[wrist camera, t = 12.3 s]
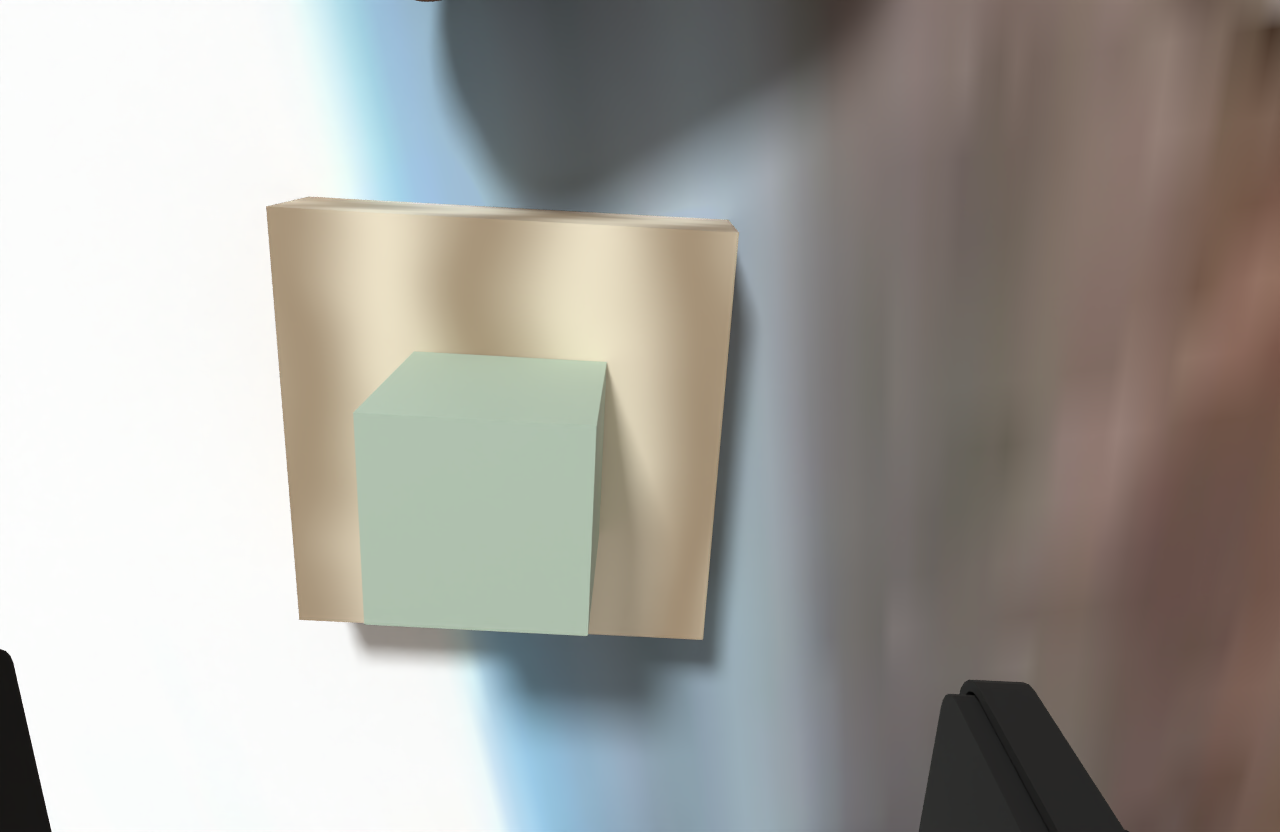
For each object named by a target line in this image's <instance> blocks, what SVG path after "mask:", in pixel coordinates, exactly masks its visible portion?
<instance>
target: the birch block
mask: <svg viewBox="0 0 1280 832" xmlns="http://www.w3.org/2000/svg"><path fill="white" fill-rule="evenodd" d="M266 209H267V222H268V234H269V247H270V259H271V272H272V284H273V296H274V309H275V321H276V334H277V346H278V359H279V371H280V384H281V396H282V408H283V421H284V433H285V446H286V458H287V471H288V483H289V496H290V508H291V520H292V533H293V545H294V558H295V570H296V583H297V595H298V608H299V620H315V621H335V622H355V623H364V610H363V591H362V572H361V553H360V534H359V515H358V496H357V477H356V458H355V439H354V420H353V412H354V411H355V410H356V409H357V408H358V407H359V406H360V405H361V404H362V403H363V402H364V401H365V400H366V399H367V398H368V397H369V396H370V395H371V394H372V393H373V392H374V391H375V390H376V389H377V388H378V387H379V386H380V385H381V384H382V383H383V382H384V381H385V380H386V379H387V378H388V377H389V376H390V375H391V374H392V373H393V372H394V371H395V370H396V369H397V368H398V367H399V366H400V365H401V364H402V363H403V362H404V361H405V360H406V359H407V358H408V357H409V356H410V355H411V354H412V353H413V352H414V351H416V352H434V353H453V354H471V355H489V356H507V357H525V358H544V359H562V360H580V361H598V362H607V367H606V390H605V412H604V435H603V457H602V480H601V502H600V524H599V540H598V549H597V558H596V567H595V576H594V585H593V594H592V603H591V612H590V621H589V630H588V634H596V635H617V636H637V637H657V638H677V639H697V640H703V632H704V620H705V609H706V598H707V587H708V575H709V564H710V553H711V541H712V530H713V519H714V507H715V496H716V485H717V474H718V462H719V451H720V440H721V428H722V417H723V406H724V394H725V383H726V372H727V361H728V349H729V338H730V327H731V315H732V304H733V293H734V281H735V270H736V259H737V248H738V236H739V232H738V231H737V230H736V229H735V227H734V226H733V225H732V224H731V223H730V221H729V220H720V219H702V218H684V217H666V216H648V215H630V214H612V213H594V212H576V211H557V210H539V209H521V208H503V207H485V206H467V205H449V204H431V203H413V202H395V201H377V200H359V199H341V198H323V197H305V198H301V199H297V200H292V201H288V202H284V203H280V204H275V205H271V206H267V207H266Z"/></svg>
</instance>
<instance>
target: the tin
mask: <svg viewBox="0 0 1280 832" xmlns="http://www.w3.org/2000/svg"><path fill="white" fill-rule="evenodd" d="M416 1H424V2H433V1H441V0H416Z"/></svg>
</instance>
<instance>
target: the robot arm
mask: <svg viewBox="0 0 1280 832" xmlns="http://www.w3.org/2000/svg"><path fill="white" fill-rule="evenodd" d="M0 832H51V828H50V823H49V819H48V814H47V810H46V806H45V801H44V797H43V792H42V788H41V783H40V779H39V775H38V770H37V766H36V761H35V757H34V753H33V748H32V744H31V739H30V735H29V730H28V726H27V722H26V717H25V713H24V708H23V704H22V699H21V695H20V691H19V686H18V682H17V677H16V673H15V668H14V664H13V661H12V659H11V656H10V655H9V654H8V653H7V652H6V651H4V650H1V649H0ZM919 832H1129V831H1127V830H1124V829H1123V827H1122V826H1121V824H1120V822H1119V821H1118V819H1117V818H1116V816H1115V815H1114V813H1113V812H1112V810H1111V808H1110V807H1109V805H1108V804H1107V802H1106V801H1105V799H1104V798H1103V796H1102V795H1101V793H1100V791H1099V790H1098V788H1097V787H1096V785H1095V784H1094V782H1093V781H1092V779H1091V778H1090V776H1089V774H1088V773H1087V771H1086V770H1085V768H1084V767H1083V765H1082V764H1081V762H1080V760H1079V759H1078V757H1077V756H1076V754H1075V753H1074V751H1073V750H1072V748H1071V747H1070V745H1069V743H1068V742H1067V740H1066V739H1065V737H1064V736H1063V734H1062V733H1061V731H1060V729H1059V728H1058V726H1057V725H1056V723H1055V722H1054V720H1053V719H1052V717H1051V716H1050V714H1049V712H1048V711H1047V709H1046V708H1045V706H1044V705H1043V703H1042V702H1041V700H1040V699H1039V697H1038V695H1037V694H1036V692H1035V691H1034V690H1033V689H1032V687H1031V686H1030V685H1029V684H1026V683H1023V682H1005V681H984V680H968V681H966V682H964V684H963V686H962V687H961V690H960V694H948V695H946V696H945V697H944V699H943V702H942V705H941V710H940V716H939V721H938V727H937V732H936V738H935V744H934V749H933V755H932V760H931V766H930V772H929V777H928V783H927V788H926V794H925V800H924V805H923V811H922V816H921V822H920V827H919Z"/></svg>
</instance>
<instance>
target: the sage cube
mask: <svg viewBox="0 0 1280 832" xmlns="http://www.w3.org/2000/svg"><path fill="white" fill-rule="evenodd" d="M606 367H607V362H598V361H580V360H562V359H544V358H525V357H507V356H489V355H471V354H453V353H434V352H416V351H414V352H413V353H412V354H411V355H410V356H409V357H408V358H407V359H406V360H405V361H404V362H403V363H402V364H401V365H400V366H399V367H398V368H397V369H396V370H395V371H394V372H393V373H392V374H391V375H390V376H389V377H388V378H387V379H386V380H385V381H384V382H383V383H382V384H381V385H380V386H379V387H378V388H377V389H376V390H375V391H374V392H373V393H372V394H371V395H370V396H369V397H368V398H367V399H366V400H365V401H364V402H363V403H362V404H361V405H360V406H359V407H358V408H357V409H356V410H355V411H354V412H353V420H354V439H355V458H356V477H357V496H358V515H359V534H360V553H361V572H362V591H363V610H364V625H383V626H402V627H422V628H441V629H461V630H481V631H500V632H520V633H539V634H559V635H578V636H588V630H589V621H590V612H591V603H592V594H593V585H594V576H595V567H596V558H597V549H598V540H599V524H600V502H601V480H602V457H603V435H604V412H605V390H606Z"/></svg>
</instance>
